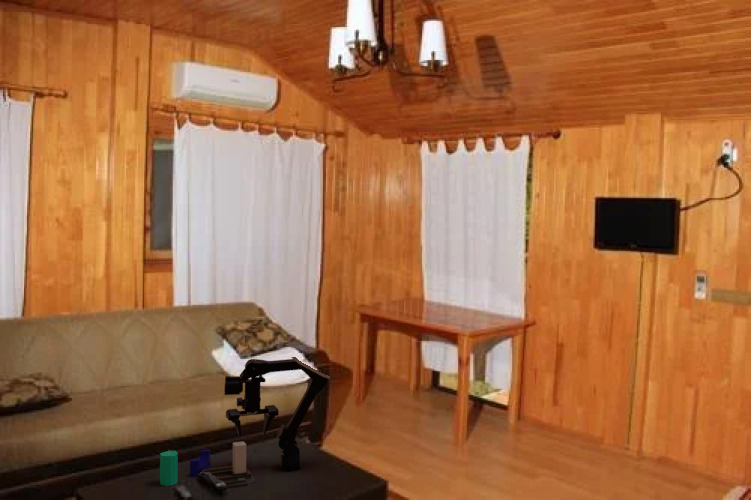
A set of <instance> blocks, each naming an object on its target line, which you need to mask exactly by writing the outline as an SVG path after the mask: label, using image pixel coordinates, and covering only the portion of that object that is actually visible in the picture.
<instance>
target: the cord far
mask: <svg viewBox="0 0 751 500" xmlns="http://www.w3.org/2000/svg"><path fill="white" fill-rule="evenodd" d="M246 467H247V469H248V470H249V464H246ZM232 469H233V465H229V466H219V467H211V468H207V469H204V470H202V471H203V472H217V471H224V470H232Z"/></svg>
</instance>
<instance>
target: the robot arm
mask: <svg viewBox="0 0 751 500" xmlns="http://www.w3.org/2000/svg"><path fill="white" fill-rule="evenodd" d="M298 370H302V372H304V374H305V375H306V376H307V377H309V379H308V383H307V388H306V390H305V392H304V393H303V396H302V397H301V400H300V401H299V403H298V405H297V407H296V408H295V411H294V412H293V414H292V416H291V417H290V419H289V421H288V423H286V425H285V424H283V423H282V424H281V426H280V428H279V430H278V431H277V432H276V434H277V435H276V438H277V444H278V447H279V448H280V449H281V450H282V451H281V454H280V456H279V466H280V468H281V469H282V470H283V471H284V472H288V471H295V470H301V469H302V467H301V466H300V465H301V464H300V463H301V460H300V459H301V458H300V457H301V455H300V453H301V451H300V446H299V444H298V441H297V440H296V438H297V434H298V430H299V428H300V426H301V424H302V422H303V420H304V418H305V417H306V416H307V413H308V412H309V410H310V407H311V405H312V404H313V402H314V400H315V398H316V397H317V395H318V394H319V393H321V392H322V391H323V389H324V388H325V387H326V386H327V384H328V382H329V377H327V376H324V375H322V374H320V373H318V372H316V371H314V370H312V369H310V368H309V367H307V366H305V365H303V364H301V363H300V362H298V361H297V360H296V359H295V358H288V359H278V360H266V359H265V360H264V359H257V358H250V359H248V360H247V361H246V363H245V365H244V369H243V370H242V371H241V373H240V374H239V375H237V376H231V375H226V376H225V377H224V378H225V379H224V396H236V395H237V396H238V395H241V393H243V392H244V397H241V396H240V397H236V407H241V409H242V410H240V411H239V410H238V408H229V409H226V411H225V417H226V419H227V420H228V421H230V422H231V423H234V426H235V429H236V431H237V434H238V437H239V438H241V437H242V430H241V429H242V427H241V426H242V425H241V420H240V417H246V416H247V417H249V416H257V415H263V419H264V420H263V428H262V429H263V433H262V434H263V435H266V433H267V431H268V428H269V427H270V424H271V423H272V421H273V420H274V419H276V417H278V416H279V411H280V410H279V408H278V407H277V406H275V404H271V405H270V404H269V405H264V408H261V401H262V400H261V399H262V398H261V383H266V378H265V377H264V375H266V374H271V373H279V372H288V371H289V372H290V371H298Z"/></svg>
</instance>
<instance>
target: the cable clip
mask: <svg viewBox="0 0 751 500" xmlns="http://www.w3.org/2000/svg"><path fill="white" fill-rule="evenodd" d="M210 466H211V449H202V450H201V451H200V456H198V457H197V458H196V459H190V460H189V476H190V477H193V478H198V477H197V476H198V474H199V473H200V472H202V470H204V469H209V467H210Z"/></svg>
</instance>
